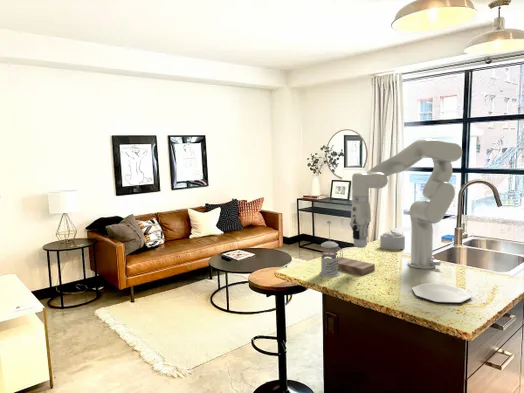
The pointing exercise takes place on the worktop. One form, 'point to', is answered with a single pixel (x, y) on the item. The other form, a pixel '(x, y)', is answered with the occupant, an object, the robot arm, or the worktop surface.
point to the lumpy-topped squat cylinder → (392, 241)
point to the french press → (326, 267)
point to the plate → (441, 293)
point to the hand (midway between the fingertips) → (360, 237)
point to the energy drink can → (361, 236)
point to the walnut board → (355, 266)
